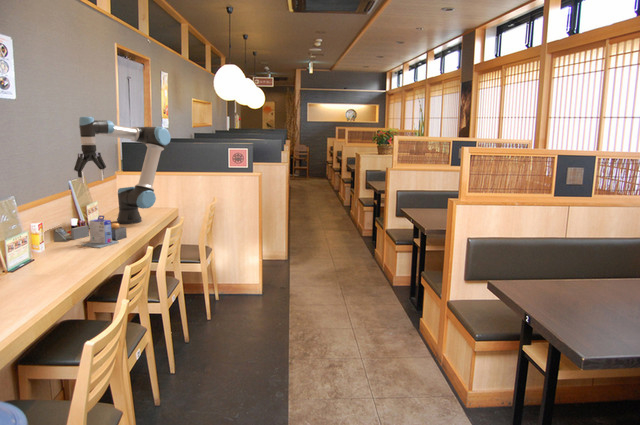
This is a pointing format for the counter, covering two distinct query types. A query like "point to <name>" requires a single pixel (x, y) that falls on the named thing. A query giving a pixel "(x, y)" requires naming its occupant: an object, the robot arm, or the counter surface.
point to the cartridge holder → (80, 232)
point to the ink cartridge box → (100, 231)
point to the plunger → (115, 225)
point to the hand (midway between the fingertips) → (91, 181)
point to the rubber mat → (98, 245)
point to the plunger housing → (118, 233)
